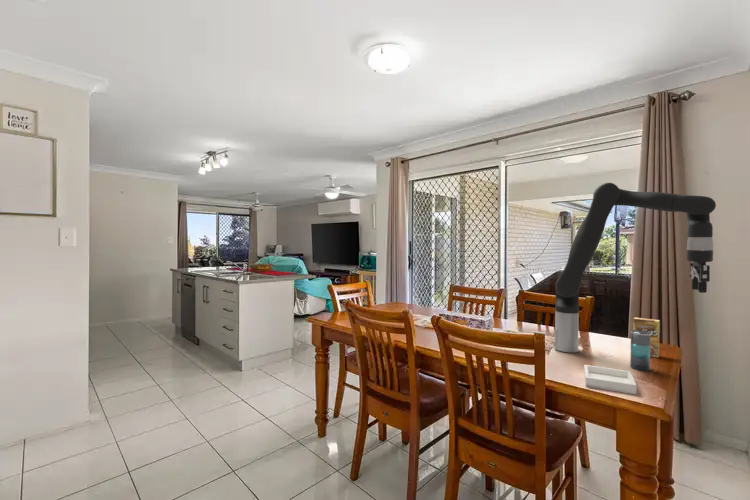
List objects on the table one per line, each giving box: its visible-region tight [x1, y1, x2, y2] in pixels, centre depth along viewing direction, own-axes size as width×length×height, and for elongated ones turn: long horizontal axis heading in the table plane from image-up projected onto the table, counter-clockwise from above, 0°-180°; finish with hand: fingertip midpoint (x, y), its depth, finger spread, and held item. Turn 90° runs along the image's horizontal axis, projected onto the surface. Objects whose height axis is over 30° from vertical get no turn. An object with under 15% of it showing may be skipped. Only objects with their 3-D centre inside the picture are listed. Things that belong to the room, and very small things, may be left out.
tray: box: [583, 364, 637, 395], centre depth 125 cm, size 14×14×3 cm
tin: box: [629, 329, 651, 372], centre depth 138 cm, size 6×6×14 cm
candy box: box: [632, 316, 661, 358], centre depth 155 cm, size 9×4×15 cm, turn 50°
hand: (698, 291), depth 140 cm, fingers open, 8 cm apart
